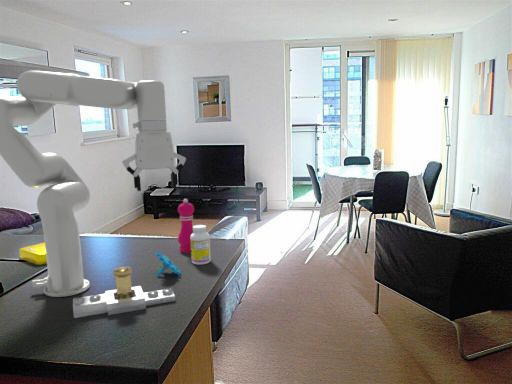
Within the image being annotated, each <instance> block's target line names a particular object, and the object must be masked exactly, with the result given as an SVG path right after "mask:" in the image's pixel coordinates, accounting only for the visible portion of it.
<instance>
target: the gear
mask: <svg viewBox="0 0 512 384" xmlns="http://www.w3.org/2000/svg"><path fill="white" fill-rule="evenodd" d="M155 256H156V257H158V260H159V261H161V264H159V266H158V267H157V270H158V272H157V273H156V275H157V276H158V277H160V276H161V275H162V273H164V272H165V271H166V270H168V269H169V270H170V271H172V272H173V273H174V274H175V275H176V274H177V275H178V276H179V275H181V273H182V272H181V270H180V269H179V268H178V267H177V266H176V265H175V263H173V261H172V260H170V259H169V257H168V256H167V255H164V254H163V253H160V252H159V251H157V252H156V254H155Z"/></svg>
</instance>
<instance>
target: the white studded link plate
mask: <svg viewBox="0 0 512 384" xmlns="http://www.w3.org/2000/svg"><path fill="white" fill-rule="evenodd" d="M104 292H105V293H100V294H93V295H87V296H82V297H81V296H80V297H74V298H72V310H73V311H72V312H73V318H74V319H77V318H83V317H88V316H94V315H100V314H106V313H107V316H113V315H116V314H117V315H119V314H122V313H123V314H124V313H129V312H134V311H141V310H146V308H147V307H148V306H153V305H160V304H161V305H162V304H165V303H171V302H176V294H175V293H174V291H173V289H172V287H171V288H165V289H159V290H158V289H157V290H151V291H146V292H144V291H143V289H142V286H141V285H137V286H132V297H130V298H124V299H118V300H117V293H116V289H111V290H110V289H109V290H106V291H104Z"/></svg>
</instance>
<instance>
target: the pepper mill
mask: <svg viewBox="0 0 512 384" xmlns="http://www.w3.org/2000/svg"><path fill="white" fill-rule="evenodd" d="M194 211H195V206H194V205H193V203H190V202H189V200H188V199H187V198H184V199H183V200H182V203H180V204H179V205H178V207H177V213H178V214H179V220H180V223H181V226H180V230H179V233H178V235H177V236H178V237H177V242H178V243H179V244H180V245H179V252H181V253H185V254H186V253H191V240H190V236H191V234H193V233H194V231H193V226H194V225H193V220H194V215H193V213H194Z"/></svg>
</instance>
